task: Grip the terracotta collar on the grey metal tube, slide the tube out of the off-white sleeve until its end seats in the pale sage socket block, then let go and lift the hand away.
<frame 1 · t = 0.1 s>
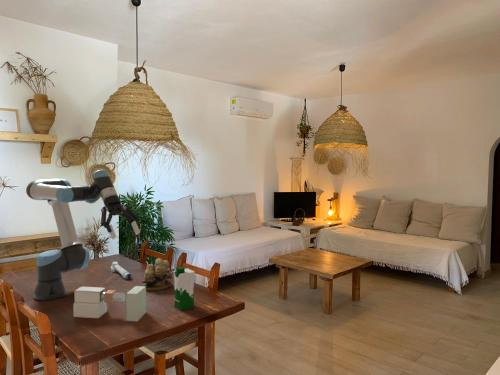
hand: (126, 235, 182), 36 cm above the table, tool tilted 35°, fingers open, 13 cm apart
white knobbed cylinder: (120, 275, 238), on the table
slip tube: (105, 295, 176), point 9 cm above the table, slide at 0.0 cm
sleeve: (90, 313, 177), on the table
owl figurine: (158, 287, 215), on the table
milk carton: (184, 307, 186), on the table
socket block: (136, 316, 175), on the table
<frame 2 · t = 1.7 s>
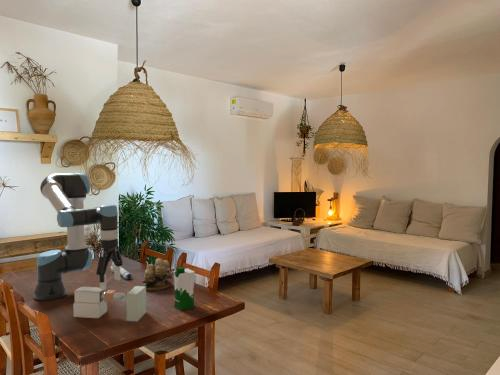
hand: (110, 284, 175), 15 cm above the table, tool pointing down, fingers open, 13 cm apart
nothing on the table moved.
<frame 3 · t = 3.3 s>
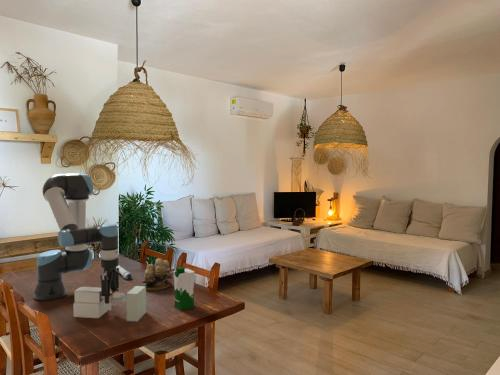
hand: (110, 307, 176), 4 cm above the table, tool pointing down, fingers closed on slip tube, 4 cm apart
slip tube: (105, 295, 176), point 9 cm above the table, slide at 0.0 cm, touching gripper
everything else where it was.
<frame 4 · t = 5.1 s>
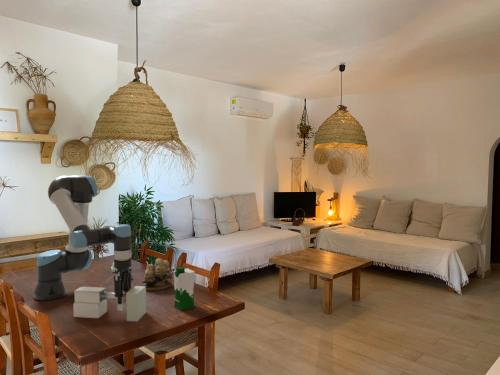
hand: (123, 308, 175), 4 cm above the table, tool pointing down, fingers closed on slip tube, 4 cm apart
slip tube: (117, 296, 175), point 9 cm above the table, slide at 6.1 cm, touching gripper
everything else where it was.
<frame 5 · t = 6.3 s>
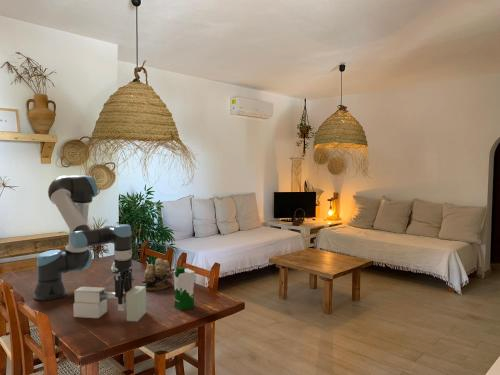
hand: (124, 308, 175), 4 cm above the table, tool pointing down, fingers open, 5 cm apart
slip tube: (117, 296, 175), point 9 cm above the table, slide at 6.0 cm
everything else where it was.
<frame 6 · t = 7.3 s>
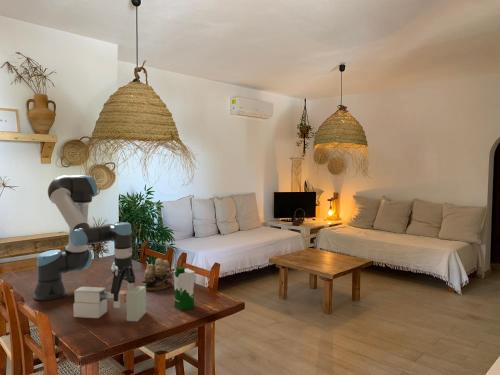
hand: (123, 301, 175), 7 cm above the table, tool pointing down, fingers open, 13 cm apart
nothing on the table moved.
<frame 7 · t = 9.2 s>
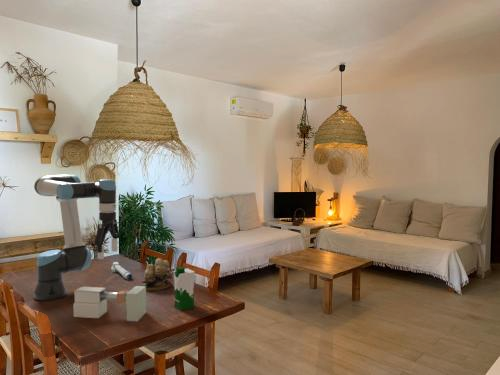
hand: (107, 255, 184), 26 cm above the table, tool pointing down, fingers open, 13 cm apart
nothing on the table moved.
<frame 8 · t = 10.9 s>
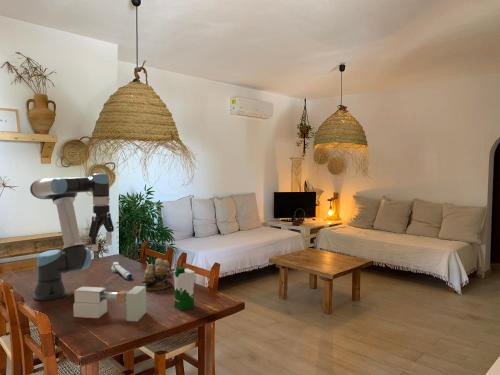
hand: (102, 247, 187), 29 cm above the table, tool pointing down, fingers open, 13 cm apart
nothing on the table moved.
at the end: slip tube slide at 6.0 cm; the gripper is holding nothing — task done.
